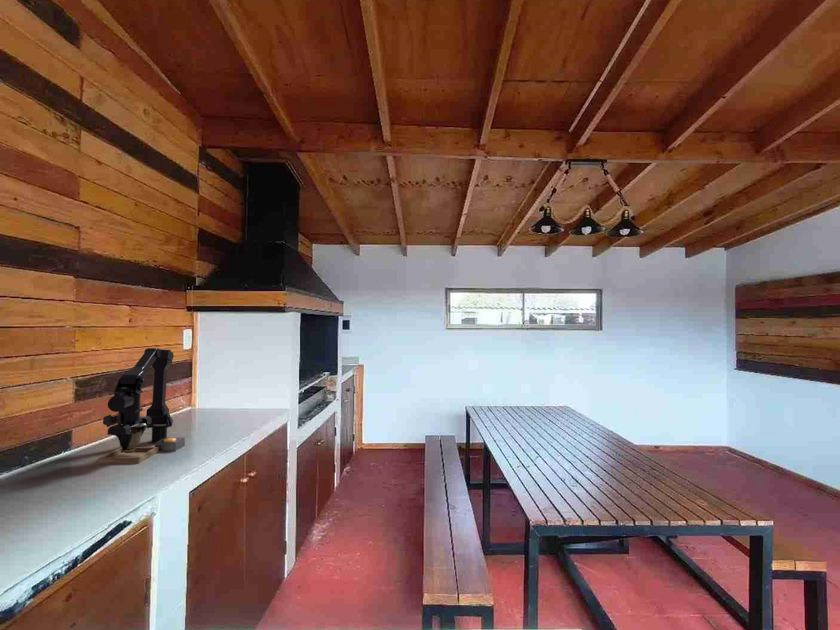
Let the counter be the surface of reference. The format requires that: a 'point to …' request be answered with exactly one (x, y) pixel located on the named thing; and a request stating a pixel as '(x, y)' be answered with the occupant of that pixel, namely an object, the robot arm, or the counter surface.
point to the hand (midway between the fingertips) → (130, 447)
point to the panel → (170, 444)
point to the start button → (170, 440)
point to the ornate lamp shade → (133, 441)
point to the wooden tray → (128, 456)
